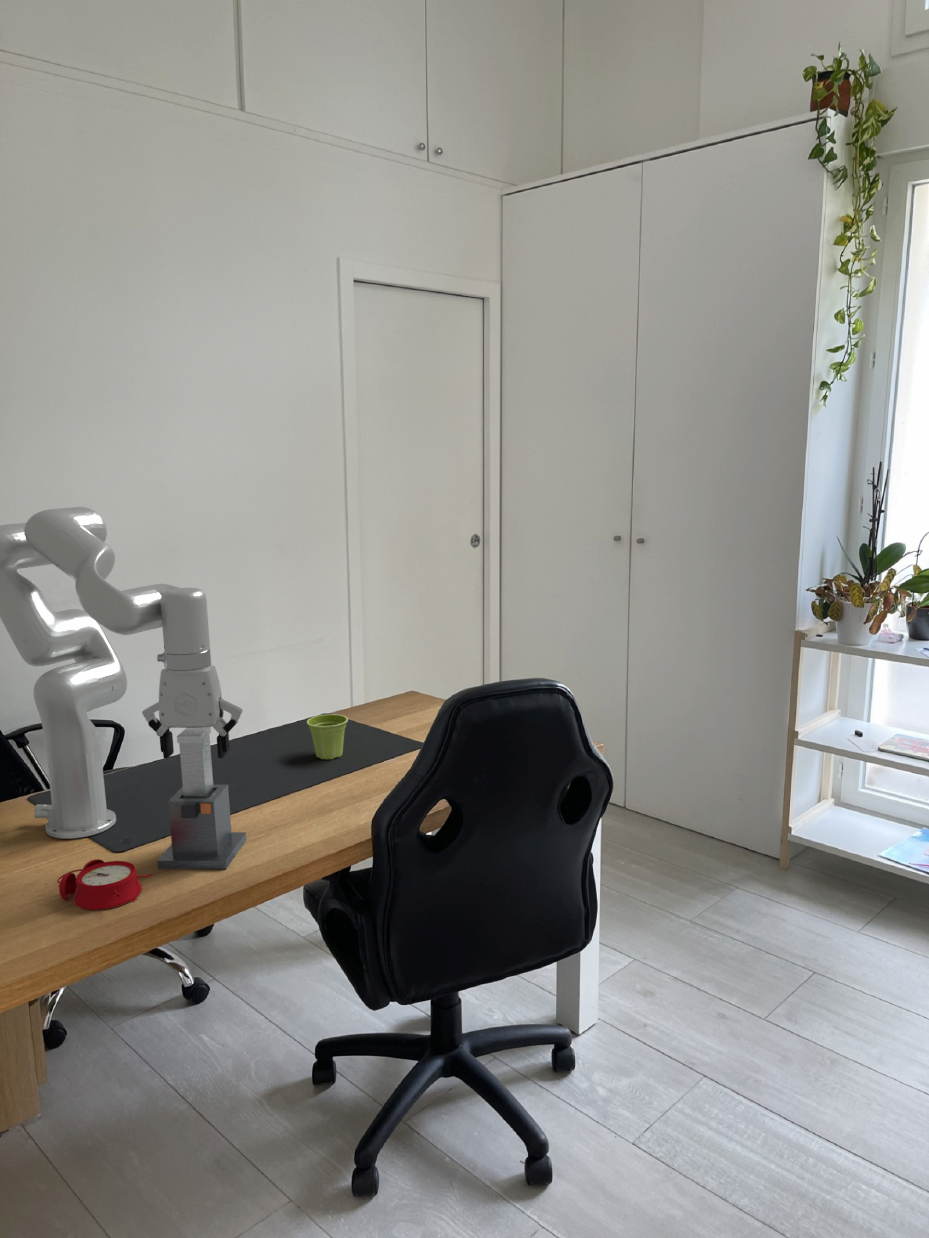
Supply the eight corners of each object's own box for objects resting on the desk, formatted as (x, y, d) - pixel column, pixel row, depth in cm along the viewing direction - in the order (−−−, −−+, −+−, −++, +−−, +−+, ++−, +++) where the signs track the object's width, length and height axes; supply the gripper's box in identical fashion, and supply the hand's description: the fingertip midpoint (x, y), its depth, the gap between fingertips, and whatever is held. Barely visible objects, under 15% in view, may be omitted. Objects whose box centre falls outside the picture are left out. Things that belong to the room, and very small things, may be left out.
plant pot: (346, 762, 213) (344, 725, 211) (305, 762, 213) (303, 726, 212) (352, 748, 222) (350, 713, 221) (312, 749, 222) (310, 714, 221)
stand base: (157, 868, 161) (152, 805, 159) (182, 839, 173) (177, 780, 171) (226, 869, 160) (221, 805, 158) (246, 839, 172) (242, 780, 170)
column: (186, 852, 164) (176, 736, 160) (197, 838, 169) (188, 726, 165) (208, 852, 163) (199, 736, 159) (218, 838, 169) (210, 726, 165)
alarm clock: (113, 896, 144) (40, 861, 149) (110, 930, 146) (38, 895, 151) (159, 867, 154) (89, 836, 159) (155, 900, 155) (86, 868, 160)
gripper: (130, 666, 157) (138, 763, 160) (231, 665, 156) (238, 763, 159) (147, 656, 164) (155, 749, 167) (244, 655, 163) (250, 748, 166)
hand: (195, 755), depth 163 cm, fingers open, 9 cm apart
